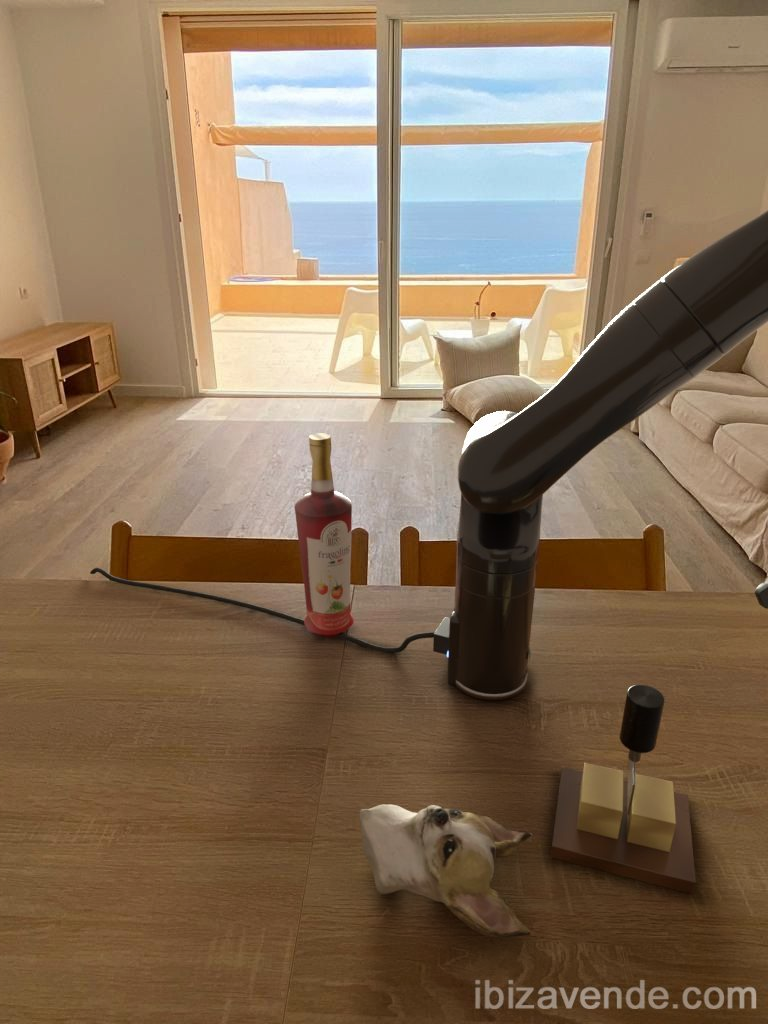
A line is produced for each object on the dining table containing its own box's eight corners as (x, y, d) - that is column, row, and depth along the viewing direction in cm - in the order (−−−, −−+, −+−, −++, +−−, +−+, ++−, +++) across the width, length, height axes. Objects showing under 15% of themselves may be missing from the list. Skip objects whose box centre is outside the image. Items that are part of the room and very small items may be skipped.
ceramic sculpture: (373, 751, 63) (541, 782, 61) (369, 818, 67) (527, 850, 64) (344, 851, 54) (541, 893, 51) (342, 922, 57) (525, 965, 55)
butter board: (550, 857, 63) (555, 817, 61) (560, 777, 72) (565, 740, 69) (692, 894, 60) (703, 853, 57) (685, 805, 68) (694, 767, 66)
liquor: (316, 649, 92) (304, 450, 80) (294, 623, 98) (280, 433, 86) (365, 633, 95) (360, 439, 84) (341, 608, 101) (333, 423, 89)
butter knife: (610, 810, 61) (627, 716, 57) (612, 758, 66) (627, 669, 62) (646, 818, 60) (666, 724, 56) (645, 766, 66) (663, 676, 61)
